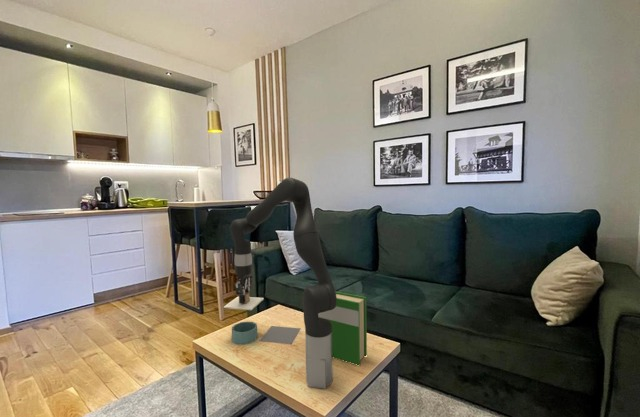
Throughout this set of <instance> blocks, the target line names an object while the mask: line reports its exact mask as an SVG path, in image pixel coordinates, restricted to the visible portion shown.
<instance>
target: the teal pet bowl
mask: <svg viewBox="0 0 640 417" xmlns="http://www.w3.org/2000/svg"><path fill="white" fill-rule="evenodd" d="M257 339H258V324H257V323H256V322H254V321H242V322H241V321H240V322H238V323H235V324H234V325H233V326H232V327H231V342H232V343H233V344H235V345H242V346H243V345H248V344H251V343H254V342H255V341H256V340H257Z"/></svg>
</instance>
